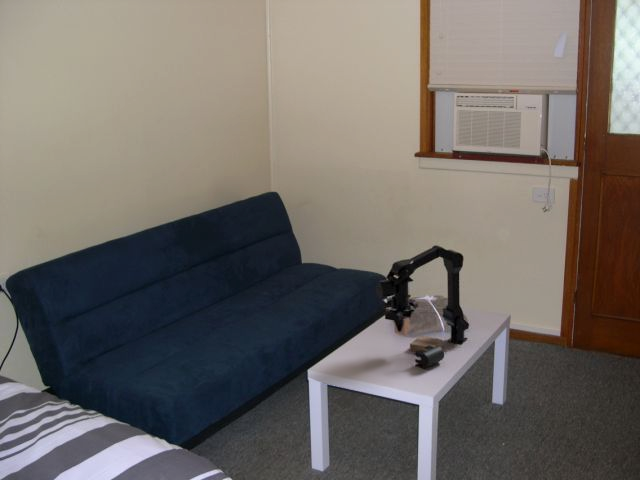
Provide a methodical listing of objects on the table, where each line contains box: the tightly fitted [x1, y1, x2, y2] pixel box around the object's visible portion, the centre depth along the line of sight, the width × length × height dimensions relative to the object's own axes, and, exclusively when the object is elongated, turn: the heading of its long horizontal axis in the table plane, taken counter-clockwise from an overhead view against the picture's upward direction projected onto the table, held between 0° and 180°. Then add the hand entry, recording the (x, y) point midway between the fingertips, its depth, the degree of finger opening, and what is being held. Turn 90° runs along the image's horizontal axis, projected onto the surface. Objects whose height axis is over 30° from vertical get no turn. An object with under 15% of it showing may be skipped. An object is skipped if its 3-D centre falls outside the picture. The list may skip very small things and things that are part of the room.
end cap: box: [414, 346, 445, 370], centre depth 300 cm, size 10×7×7 cm
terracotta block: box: [393, 316, 411, 336], centre depth 309 cm, size 4×4×6 cm
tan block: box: [409, 335, 443, 353], centre depth 316 cm, size 10×10×3 cm
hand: (402, 329), depth 309 cm, fingers closed on terracotta block, 4 cm apart
